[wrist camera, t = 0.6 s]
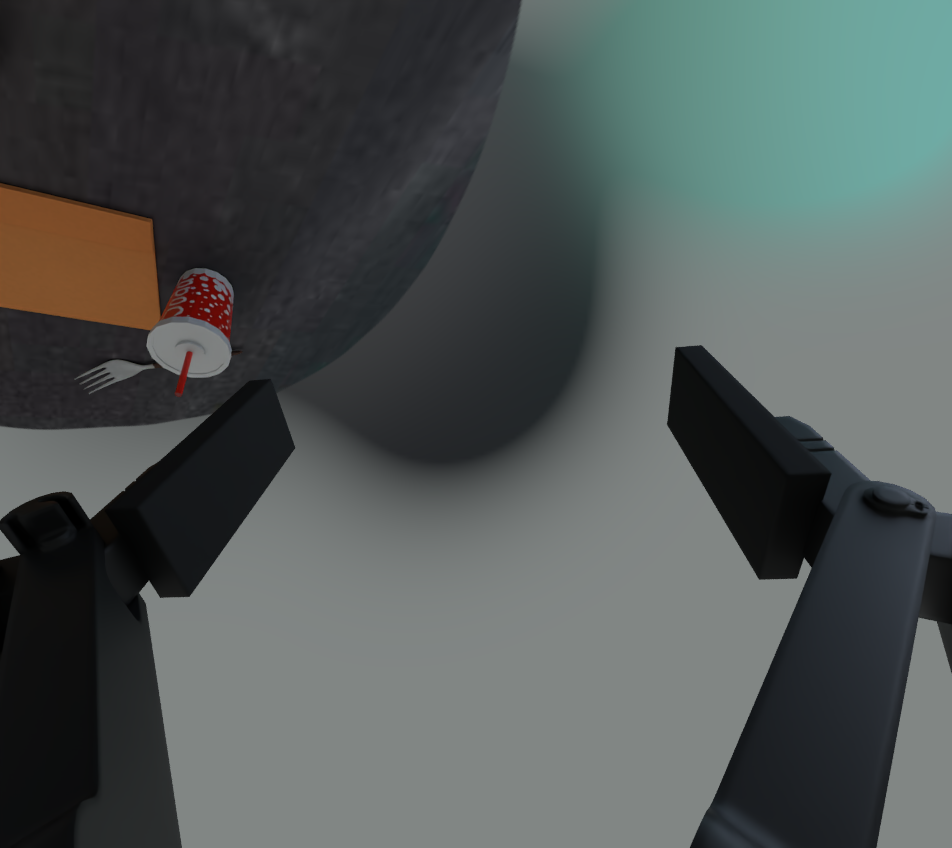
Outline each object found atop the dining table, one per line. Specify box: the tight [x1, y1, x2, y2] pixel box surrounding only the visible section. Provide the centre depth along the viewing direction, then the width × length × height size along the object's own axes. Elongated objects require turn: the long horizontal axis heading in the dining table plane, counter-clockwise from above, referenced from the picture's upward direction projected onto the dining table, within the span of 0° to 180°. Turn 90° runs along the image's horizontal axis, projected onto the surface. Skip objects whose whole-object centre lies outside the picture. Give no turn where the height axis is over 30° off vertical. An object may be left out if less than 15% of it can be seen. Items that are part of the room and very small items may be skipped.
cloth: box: [0, 183, 161, 330], centre depth 40 cm, size 16×12×1 cm
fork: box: [75, 351, 242, 394], centre depth 50 cm, size 3×16×2 cm, turn 92°
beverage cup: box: [147, 268, 234, 397], centre depth 41 cm, size 6×6×14 cm
